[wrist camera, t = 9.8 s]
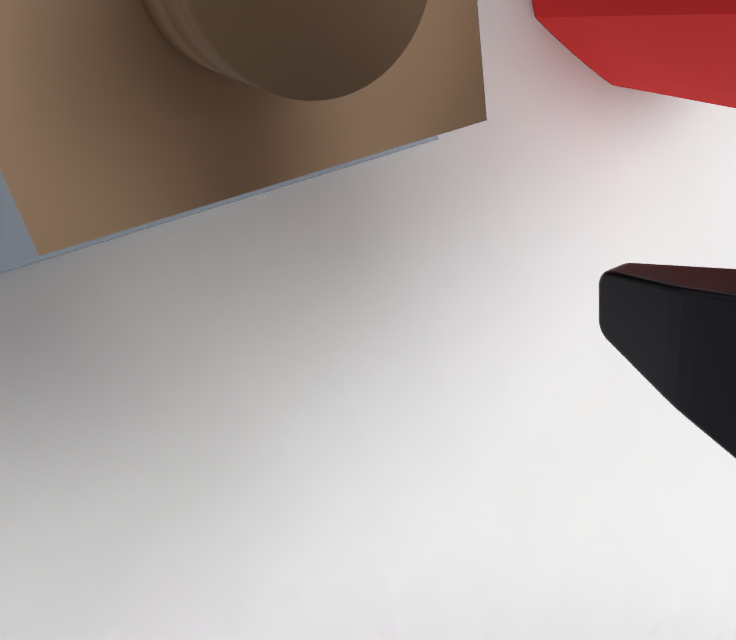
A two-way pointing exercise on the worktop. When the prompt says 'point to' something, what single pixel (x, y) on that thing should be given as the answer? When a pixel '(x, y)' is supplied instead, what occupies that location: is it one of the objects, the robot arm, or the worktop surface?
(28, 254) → the mat
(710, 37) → the french fries
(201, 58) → the brown knobbed box
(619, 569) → the worktop surface
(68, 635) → the worktop surface
